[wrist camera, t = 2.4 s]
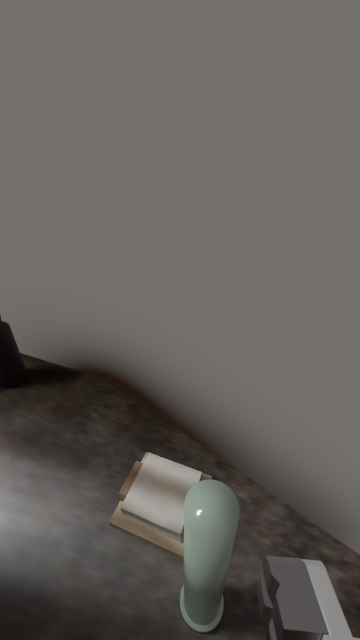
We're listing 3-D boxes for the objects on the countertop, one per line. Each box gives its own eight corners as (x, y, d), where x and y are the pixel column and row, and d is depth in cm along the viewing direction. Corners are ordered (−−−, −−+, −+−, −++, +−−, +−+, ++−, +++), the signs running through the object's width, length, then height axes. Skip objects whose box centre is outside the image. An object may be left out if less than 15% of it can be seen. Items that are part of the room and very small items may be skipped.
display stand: (186, 561, 45) (186, 550, 43) (109, 525, 49) (106, 513, 47) (211, 480, 55) (213, 467, 53) (146, 455, 59) (145, 443, 57)
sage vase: (216, 643, 38) (237, 558, 24) (173, 619, 40) (167, 527, 25) (227, 587, 42) (251, 487, 28) (188, 568, 44) (191, 465, 30)
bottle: (17, 366, 80) (-10, 299, 69) (33, 375, 77) (8, 307, 66) (-8, 381, 76) (-41, 313, 65) (8, 392, 73) (-23, 322, 62)
